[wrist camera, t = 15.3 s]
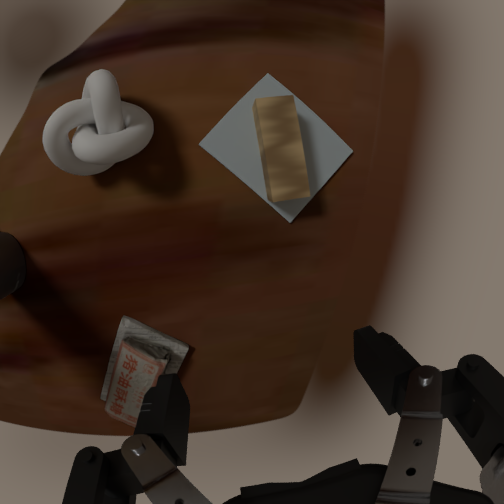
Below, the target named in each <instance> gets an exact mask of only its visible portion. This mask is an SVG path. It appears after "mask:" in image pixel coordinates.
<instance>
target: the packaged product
mask: <svg viewBox="0 0 504 504" xmlns="http://www.w3.org/2000/svg"><path fill="white" fill-rule="evenodd" d="M188 349H189V346H188V344H186V343H184V342H182V341H180V340H177V339H175V338H173V337H171V336H168V335H166V334H164V333H162V332H160V331H158V330H156V329H153V328H151V327H149V326H147V325H145V324H143V323H141V322H139V321H137V320H135V319H132V318H129V317H127V316H123V317H122V320H121V323H120V326H119V329H118V332H117V336H116V339H115V342H114V346H113V349H112V353H111V357H110V361H109V364H108V370H107V372H106V376H105V380H104V385H103V389H102V393H101V398H100V399H102V400H104V401H106V403H105V411H106V412H107V413H108V414H109V415H110V416H111V417H112V418H115V419H117V420H119V421H122V422H124V423H126V424H128V425H131V426H133V427H136V423H137V420H138V416H139V412H140V409H141V405H142V402H143V398H144V395H145V394H146V392H147V391H148V390H149V389H150V387H156V384H157V380H158V377H159V375H164V374H172V373H176V374H177V372H178V370H179V368H180V366H181V364H182V362H183V360H184V358H185V355H186V353H187V351H188Z"/></svg>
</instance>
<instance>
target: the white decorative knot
mask: <svg viewBox="0 0 504 504" xmlns="http://www.w3.org/2000/svg"><path fill="white" fill-rule="evenodd" d="M75 127H78V128H77V130H76V132H75V134H74V136H73V139H72V144H71V143H70V141H69V138H68V132H69V131H70V130H71V129H73V128H75ZM124 128H126V129H124ZM153 133H154V125H153V120H152V118H151V117H150V115H149V114H148V113H147V112H146V111H145V110H144V109H142V108H141V107H139V106H137V105H134V104H131V103H127V102H124V101H121V99H120V93H119V88H118V84H117V81H116V79H115V77H114V76H113V74H112V73H111V72H110V71H108V70H103V69H100V70H97V71H94V72H93V73H92V74H91V75H90V76H89V77H88V78H87V80H86V83H85V86H84V90H83V94H82V99H79V100H74V101H71V102H68V103H66V104H64V105H62V106H61V107H59V108H58V109H57V110H56V111H55V112H54V113H53V114H52V115H51V116H50V118H49V119H48V121H47V123H46V125H45V128H44V131H43V145H44V149H45V151H46V153H47V155H48V157H49V158H50V160H51V161H52V162H53V163H54V164H55V165H56V166H57V167H59V168H60V169H61V170H63V171H66V172H68V173H71V174H74V175H82V176H86V175H94V174H98V173H101V172H103V171H105V170H107V169H109V168H110V167H111V166H113V164H114V163H116V162H120V161H123V160H125V159H127V158H129V157H131V156H133V155H135V154H137V153H139V152H140V151H141V150H142V149H144V148H145V147H146V145H147V144H148V143H149V141H150V139H151V138H152V135H153Z"/></svg>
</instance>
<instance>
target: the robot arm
mask: <svg viewBox="0 0 504 504" xmlns="http://www.w3.org/2000/svg"><path fill="white" fill-rule="evenodd" d="M25 275H26V263H25V258H24V255H23V251H22V249H21V247H20V245H19V244H18V242H17V240H16V239H15V238H14V237H13V236H12V235H10V234H8V233H6V232H0V300H1V299H3V298H4V297H6V296H7V295H9V294H11V293H13V292H14V291H15V290H17V289H18V288H20V287H21V286H22V284H23V282H24V280H25ZM354 360H355V364H356V367H357V369H358V370H359V372H360V373H361V375H362V376H363V378H364V379H365V381H366V382H367V384H368V385H369V387H370V388H371V390H372V391H373V392H374V394H375V395H376V397H377V399H378V400H379V402H380V403H381V405H382V406H383V407H384V409H385V411H386V412H387V414H388V415H391V414H394V413H396V412H397V413H398V414H399V415H400V417H401V419H400V423H399V428H398V432H397V435H396V439H395V443H394V447H393V450H392V454H391V457H390V460H389V464H388V466H387V465H382V464H362V465H360V464H359V462H358V460H357V458H356V459H353V460H351V461H348V462H345V463H342V464H339V465H336V466H333V467H330V468H328V469H326V470H324V471H322V472H320V473H318V474H316V475H314V476H312V477H311V478H308V479H307V480H304V481H302V482H293V483H292V482H291V483H290V482H289V483H265V484H259V485H254V486H247V487H241V488H240V490H241V495H238V496H236V497H233V498H231V499H229V500H228V501H226V502H224V503H223V504H504V377H503V376H502V375H501V374H500V373H499V372H498V371H497V370H496V369H495V368H494V367H493V366H492V365H490V363H488V362H487V361H486V360H485V359H484V358H483V357H481V356H479V355H475V354H470V355H466V356H464V357H462V358H461V359H460V360H459V362H458V366H457V368H454V369H449V370H445V371H439V369H437V368H436V367H433V366H429V365H424V366H421V365H420V364H419V363H418V362H417V361H416V360H415V359H414V358H413V357H412V356H411V355H410V354H409V353H408V352H407V351H406V350H405V349H403V347H402V346H401V345H400V344H398V342H397V341H396V340H395V339H394V338H393V337H392V336H391V335H388V334H386V333H384V332H382V333H379V334H378V333H377V332H376V331H375V330H374V329H373V328H372V327H371V326H366V327H364V328H361V329H357V330H355V331H354ZM189 416H190V404H189V400H188V397H187V395H186V393H185V391H184V388H183V386H182V384H181V382H180V380H179V378H178V376H177V374H176V373H172V374H164V375H159V377H158V380H157V384H156V387H150V389H149V390H148V391H147V392H146V394H145V395H144V398H143V402H142V405H141V409H140V412H139V416H138V420H137V423H136V427H135V431H134V435H133V436H130V437H129V438H128V439H126V440H125V441H124V442H123V444H122V446H121V449H119V450H115V451H111V452H106V453H103V452H102V451H101V450H100V449H99V448H97V447H94V446H90V447H85V448H83V449H82V450H80V451H79V452H78V453H77V455H76V457H75V460H74V463H73V466H72V470H71V473H70V477H69V480H68V483H67V487H66V491H65V494H64V499H63V502H62V504H135V503H136V494H140V493H144V492H145V494H146V495H147V497H148V498H149V499H150V501H151V502H152V503H153V504H212V503H211V502H210V501H209V500H208V499H207V498H206V497H205V496H204V495H203V494H202V493H201V492H200V491H199V490H198V489H197V488H196V487H195V486H193V484H192V483H191V482H190V481H189V480H188V479H187V478H186V477H185V476H184V475H183V474H182V473H181V472H180V471H179V470H178V468H177V466H185V465H186V454H187V441H188V428H189ZM444 418H448V419H449V421H450V422H451V424H452V425H453V426H454V427H455V429H456V430H457V432H458V433H459V435H460V436H461V438H462V439H463V440H464V442H465V443H466V445H467V446H468V448H469V449H470V451H471V452H472V453H473V455H474V457H475V458H476V459H477V461H478V462H479V464H480V465H481V467H482V471H481V474H480V483H481V488H482V493H481V492H478V491H473V490H469V489H464V488H459V487H456V486H452V485H448V484H444V483H440V482H437V481H434V480H433V479H434V474H435V469H436V464H437V457H438V452H439V445H440V437H441V429H442V420H443V419H444Z"/></svg>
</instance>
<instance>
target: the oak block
mask: <svg viewBox="0 0 504 504" xmlns="http://www.w3.org/2000/svg"><path fill="white" fill-rule="evenodd" d="M252 111H253V117H254V122H255V128H256V134H257V139H258V145H259V151H260V157H261V163H262V169H263V175H264V181H265V187H266V193H267V200H269V201H271V202H278V201H284V200H291V199H297V198H304V197H310V189H309V182H308V175H307V169H306V162H305V156H304V150H303V144H302V138H301V133H300V127H299V122H298V116H297V111H296V106H295V101H294V96H293V95H286V96H274V97H264V98H256V99H255V101H254V104H253V106H252Z"/></svg>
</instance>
